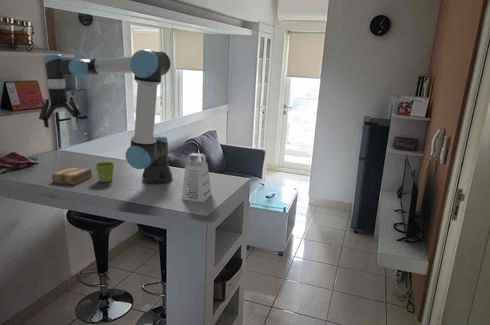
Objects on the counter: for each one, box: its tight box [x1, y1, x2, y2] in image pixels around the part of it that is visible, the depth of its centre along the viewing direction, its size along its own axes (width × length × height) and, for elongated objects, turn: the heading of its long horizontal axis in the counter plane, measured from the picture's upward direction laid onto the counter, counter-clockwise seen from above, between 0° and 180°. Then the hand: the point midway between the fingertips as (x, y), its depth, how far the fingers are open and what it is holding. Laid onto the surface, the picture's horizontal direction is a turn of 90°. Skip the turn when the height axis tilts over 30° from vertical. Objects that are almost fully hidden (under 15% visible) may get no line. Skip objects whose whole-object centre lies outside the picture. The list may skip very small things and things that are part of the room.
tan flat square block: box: [51, 166, 93, 185], centre depth 190 cm, size 13×13×4 cm
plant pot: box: [94, 161, 115, 183], centre depth 188 cm, size 9×9×9 cm
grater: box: [181, 152, 213, 203], centre depth 168 cm, size 10×10×20 cm
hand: (62, 131), depth 184 cm, fingers open, 13 cm apart
